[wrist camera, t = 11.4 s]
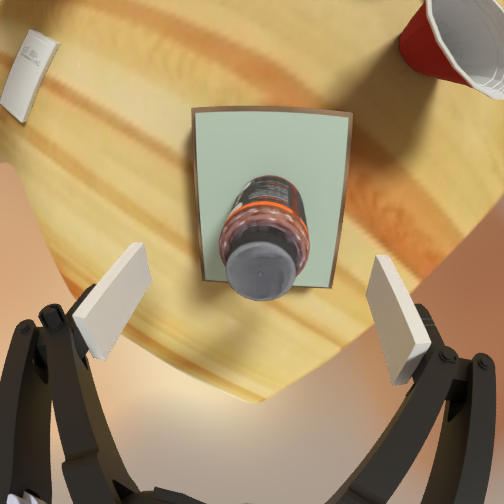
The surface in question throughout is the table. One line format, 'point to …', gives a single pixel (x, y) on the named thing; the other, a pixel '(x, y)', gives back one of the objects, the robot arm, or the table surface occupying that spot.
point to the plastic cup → (458, 43)
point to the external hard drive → (28, 74)
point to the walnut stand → (272, 163)
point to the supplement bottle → (265, 239)
